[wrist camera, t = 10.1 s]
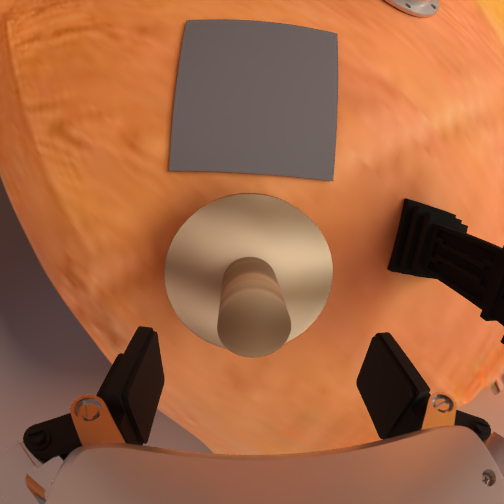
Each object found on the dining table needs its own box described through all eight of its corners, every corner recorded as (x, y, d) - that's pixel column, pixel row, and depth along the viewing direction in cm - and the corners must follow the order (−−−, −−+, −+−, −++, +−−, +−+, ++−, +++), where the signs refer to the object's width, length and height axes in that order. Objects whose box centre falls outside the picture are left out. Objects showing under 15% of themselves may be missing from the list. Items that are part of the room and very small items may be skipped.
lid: (167, 190, 20) (127, 202, 12) (337, 199, 20) (386, 217, 13) (173, 339, 23) (153, 399, 16) (315, 343, 24) (339, 401, 17)
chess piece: (404, 198, 26) (567, 252, 6) (451, 213, 26) (585, 267, 7) (387, 268, 28) (516, 378, 9) (435, 275, 28) (549, 360, 9)
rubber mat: (187, 23, 19) (186, 20, 19) (335, 36, 20) (337, 33, 20) (170, 170, 24) (169, 170, 23) (330, 180, 25) (332, 181, 24)
